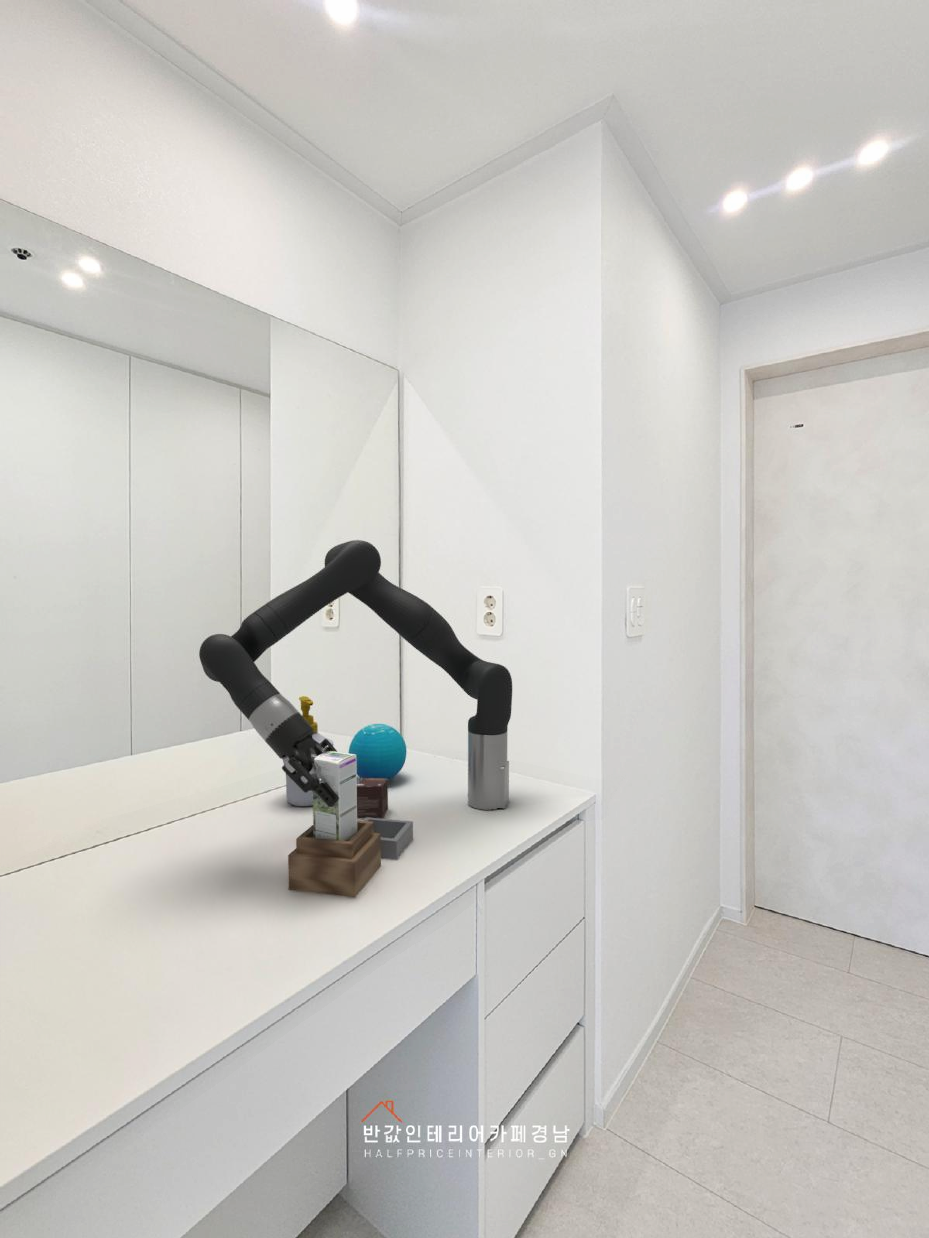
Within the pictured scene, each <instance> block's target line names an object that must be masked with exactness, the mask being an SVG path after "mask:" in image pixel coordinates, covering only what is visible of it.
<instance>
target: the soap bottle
mask: <svg viewBox="0 0 929 1238" xmlns="http://www.w3.org/2000/svg"><path fill="white" fill-rule="evenodd" d="M298 700H299V701H300V711H301V712H302V714H301V715H302V716H303V717H304V718H305V719H306V721H307V722H308V723H309V724H310V725H311V726H312V727H313V728H314V734H313V735H312V738H313V739H314V740H315V741H317V742H318V743H321V742H322V741H323V740H324V739H327V740H328V741H329V742H330V743H331V744H332V745H333V746H334V741H333V740H332V739H330V738H329V737H326V736H324V735H322V734H320V733H319V732H318V731H319V730H318V723H317V722H316V721H314V720H315V719H314V716H313V715H311V714H310V713H309V711H311V706H313V705H314V701H313V700H312V699H311V698H309V696H299V697H298ZM288 760H289V758H288V757H287V758H285V759H282V762H283V765H284V764H285V763H286V762H287V761H288ZM296 772H297V771H296ZM285 779H286V780H285V781H286V782H285V785H286V786H285V788H286V789H285V790H286V794H285V795H286V800H287V802H288V803H290V804H291V805H292V806H296V807H310V806H312V807H313V792H312V791H308V792H307V793H305V792H304V791H303V790H302V789H301V788H300V787H299V786H298V785H297V784H296V783H295V782H294V781H293V780H292V779H291V778H290V777H289V776H288V775H287V774H286V773H285ZM301 780H302V781H303V779H302V777H301ZM303 782H304V783H305V784H306V783H307V782H306V781H303Z"/></svg>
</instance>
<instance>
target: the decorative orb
mask: <svg viewBox="0 0 929 1238" xmlns="http://www.w3.org/2000/svg"><path fill="white" fill-rule="evenodd" d="M348 747H349V749H348V753H349V754H356V757H357V777H360V778H361V779H362V778H387V779H388V781H390V780H391V779H393V778H394V777H395V776H397V775H398V774H399V773H400V772H401V771H402V769H403V767H404V766H405V763H406V759H407V753H408V752H407V745H406V742H405V739H404V737H403V736H402V734H401V733H400V732H399V731H398V730H397V729H396V728H394V727H393V726H390V725H388V724H385V723H372V724H368V725H367V726H363V727H362V728H360V730H358V731H357V733H356V734H355V735H353V738H352V739H351V742H350V744H349V746H348Z"/></svg>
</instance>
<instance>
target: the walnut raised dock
mask: <svg viewBox="0 0 929 1238" xmlns="http://www.w3.org/2000/svg"><path fill="white" fill-rule="evenodd" d="M357 828H358V832H357V833H356V834H355V835H354V836H353V837H351V838H349V839H348V840H346V841H341V840H331V839H321V838H313V824H312V825H311V826H310V827H308V829H306V830H305V831H304V832H302V833H301V834H300V835H298V837H296V838H295V843H296V844H295V845H296V846H295V849H293V850H291V852H290V853H288V855H287V860H288V861H287V862H288V863H287V869H288V890H290V891H296V892H306V893H313V894H321V895H322V894H323V895H330V896H337V897H338V896H339V897H347V898H354V899H355V898H356V897H357V896H358V895H359V894H360V892H361V891H362V890H363V889H364V887H365V886H367V884H368V882H369V881H370V880H371V879H372V877H373V876H374V875H375V874H376V873H377V871H378V870H379V869H380V868H381V866H382V858H381V838H382V837H381V833H374V828H373V822H372V821H363V820H358V819H357Z"/></svg>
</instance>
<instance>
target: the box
mask: <svg viewBox="0 0 929 1238" xmlns="http://www.w3.org/2000/svg"><path fill="white" fill-rule="evenodd" d="M388 781H389V780H388V779H387V778H361V779H360V780H359V782H358V783H357V819H365V818H366V817H369V818H381V819H384V817H385V814H386V813H387V811H388V810H389V794H388V793H389V791H388V790H389V789H388V787H389V783H388Z"/></svg>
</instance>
